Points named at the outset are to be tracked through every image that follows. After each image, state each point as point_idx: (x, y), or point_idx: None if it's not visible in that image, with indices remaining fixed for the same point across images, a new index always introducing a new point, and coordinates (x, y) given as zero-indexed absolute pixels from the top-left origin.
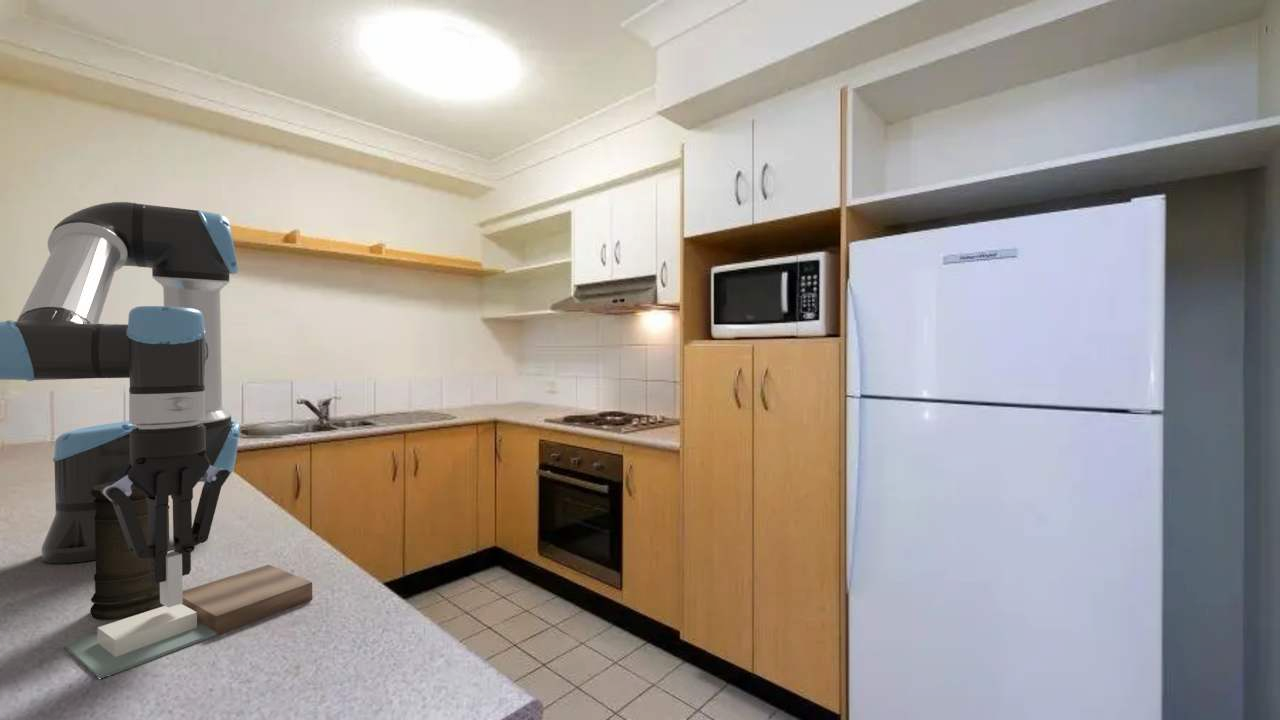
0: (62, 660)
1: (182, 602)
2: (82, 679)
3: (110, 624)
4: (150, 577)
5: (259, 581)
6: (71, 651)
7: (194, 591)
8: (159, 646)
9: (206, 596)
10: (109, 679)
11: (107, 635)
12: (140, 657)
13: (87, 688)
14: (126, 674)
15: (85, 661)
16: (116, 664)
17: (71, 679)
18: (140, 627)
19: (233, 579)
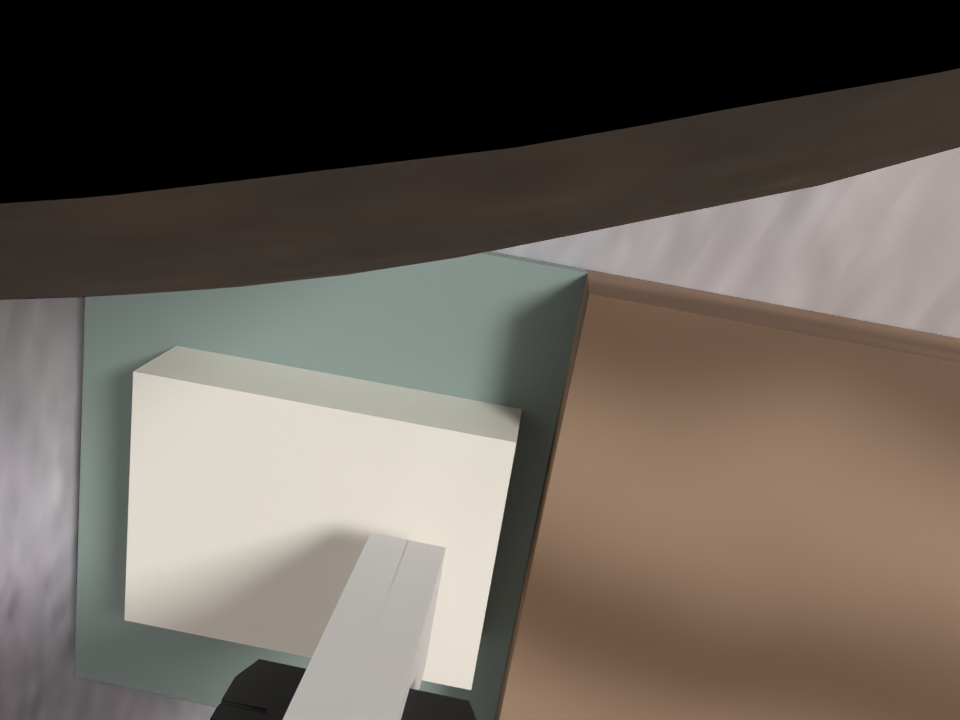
0: (55, 333)
1: (425, 665)
2: (50, 599)
3: (183, 399)
4: (234, 680)
5: (921, 651)
6: (88, 304)
7: (656, 395)
8: (297, 659)
9: (627, 552)
10: (104, 693)
11: (128, 520)
12: (215, 674)
13: (40, 684)
14: (150, 716)
15: (85, 490)
16: (140, 645)
17: (27, 558)
18: (242, 595)
19: (906, 444)
